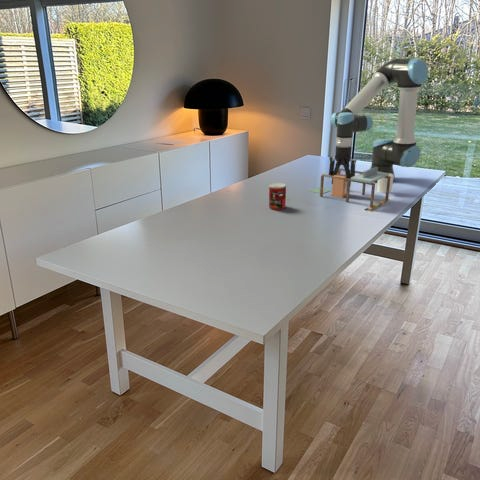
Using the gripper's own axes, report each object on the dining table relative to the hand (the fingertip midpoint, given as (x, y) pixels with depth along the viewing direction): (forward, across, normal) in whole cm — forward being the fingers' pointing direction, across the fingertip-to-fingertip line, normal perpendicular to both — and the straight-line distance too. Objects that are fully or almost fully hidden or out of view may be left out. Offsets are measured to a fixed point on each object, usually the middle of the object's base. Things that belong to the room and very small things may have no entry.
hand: (340, 192), depth 235 cm
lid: (-10, +15, 0) cm, 18 cm away
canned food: (+3, -14, -33) cm, 36 cm away
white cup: (+3, +14, +21) cm, 25 cm away
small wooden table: (+3, +2, 0) cm, 4 cm away
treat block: (+2, 0, 0) cm, 2 cm away
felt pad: (+2, -12, 0) cm, 12 cm away
